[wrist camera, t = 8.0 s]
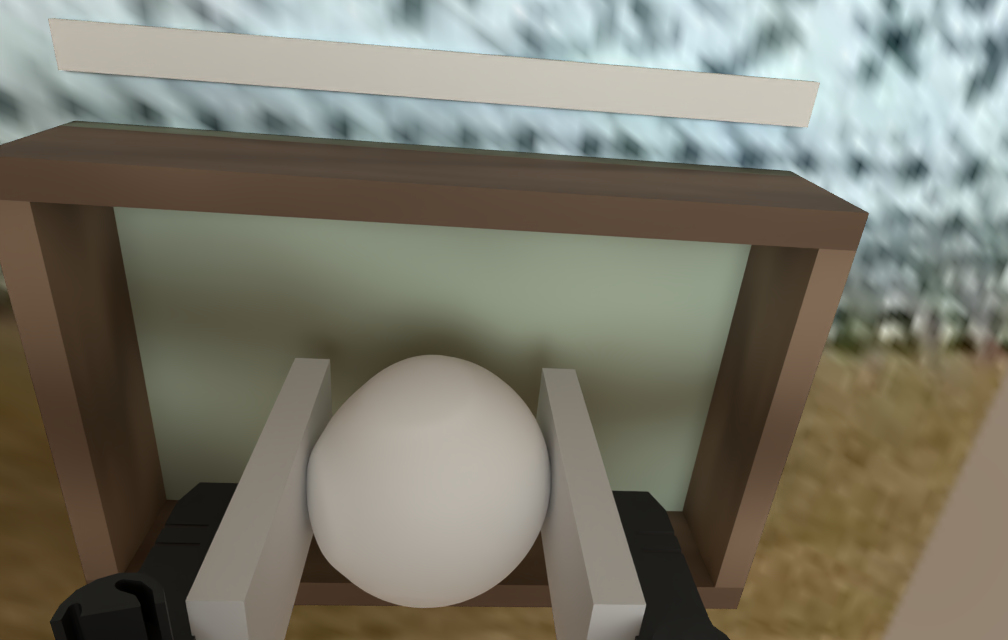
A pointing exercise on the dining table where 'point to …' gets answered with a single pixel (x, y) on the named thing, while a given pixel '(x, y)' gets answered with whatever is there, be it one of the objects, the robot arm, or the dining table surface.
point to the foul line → (427, 73)
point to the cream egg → (429, 483)
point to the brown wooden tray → (412, 314)
